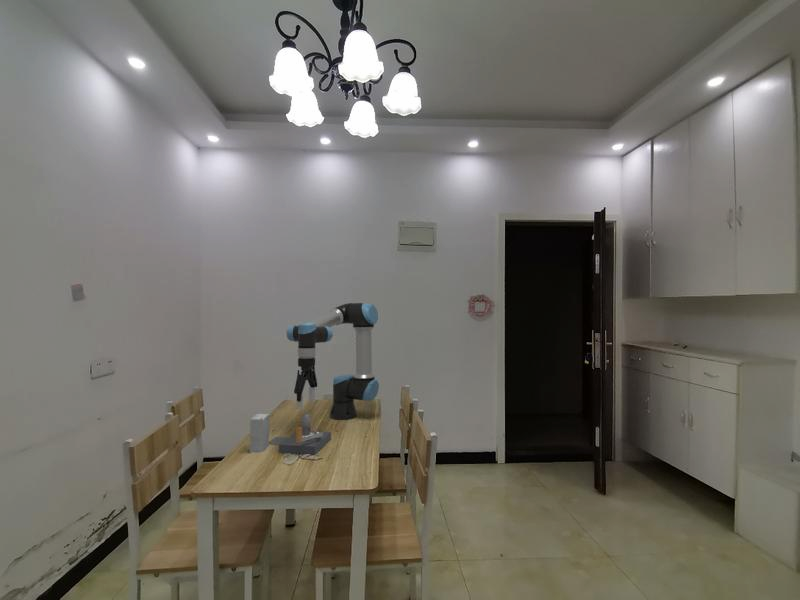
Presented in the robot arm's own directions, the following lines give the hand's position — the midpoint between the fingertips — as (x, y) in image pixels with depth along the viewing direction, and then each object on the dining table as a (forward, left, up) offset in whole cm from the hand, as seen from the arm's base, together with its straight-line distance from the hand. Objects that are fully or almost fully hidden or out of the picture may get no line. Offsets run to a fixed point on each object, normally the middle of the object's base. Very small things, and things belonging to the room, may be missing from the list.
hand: (306, 405), depth 177 cm
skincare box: (+7, -18, -19) cm, 27 cm away
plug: (0, 0, -18) cm, 18 cm away
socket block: (0, 0, -19) cm, 19 cm away
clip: (+5, +4, -13) cm, 14 cm away
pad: (-4, -14, -19) cm, 24 cm away
